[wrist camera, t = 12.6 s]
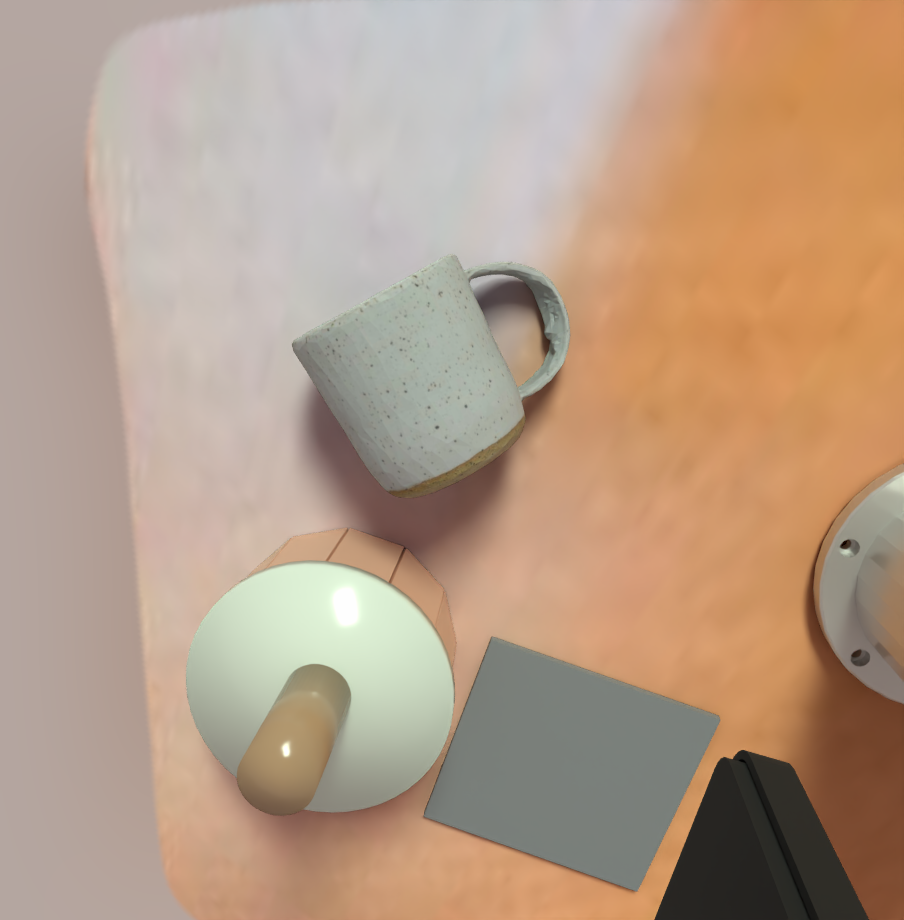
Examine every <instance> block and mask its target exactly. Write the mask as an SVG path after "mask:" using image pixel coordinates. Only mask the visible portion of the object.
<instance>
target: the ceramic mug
mask: <svg viewBox="0 0 904 920" xmlns="http://www.w3.org/2000/svg"><path fill="white" fill-rule="evenodd" d="M497 274H503V275H509V276H514V277H517V278H519V279H521V280H523V281H524V282H525V283H526V285H527V286H528V287H529V288H530V289H531V290H532V292H533V294H534V297H535V299H536V302H537V304H538V307H539V310H540V312H541V314H542V317H543V321H544V325H545V330H544V334H545V336H546V337H547V339H549V340H550V346H549V351H548V353H547V356H546V358H545V360H544V363H543V365H542V366H541V367H540V369H539V370H538V371H536V372H535V374H534V375H533V376H532V377H531V378H530V379H528V380H527V381H526V382H525V383H524V384H523V385H521V386H519V387H518V388H517V385H516V383H515V381H514V378H513V376H512V374H511V372H510V370H509V368H508V366H507V364H506V362H505V360H504V358H503V356H502V355H501V353H500V350H499V348H498V346H497V344H496V342H495V340H494V338H493V336H492V334H491V331H490V329H489V327H488V324H487V322H486V319H485V317H484V314H483V312H482V310H481V308H480V306H479V304H478V302H477V300H476V298H475V296H474V293H473V291H472V289H471V286H470V284H469V283H470V280H471V279H473V278H477V277H481V276H486V275H497ZM569 341H570V326H569V318H568V314H567V310H566V308H565V305H564V303H563V300H562V298H561V295H560V294H559V292H558V290H557V289H556V287H555V286H554V284H553V283H552V281H551V280H550V279H549V278H548V277H546V276H545V275H544V274H543V273H541V272H540V271H538V270H536V269H534V268H532V267H529V266H525V265H522V264H518V263H513V262H495V263H488V264H484V265H480V266H476V267H473V268H471V269H468V270H463V269H462V267H461V264H460V262H459V260H458V258H457V257H456V256H455V255H453V254H449V255H447V256H445V257H443V258H441V259H439V260H438V261H436V262H434V263H431V264H430V265H428V266H427V267H425V268H423V269H421V270H420V271H418V272H416V273H414V274H412V275H410V276H409V277H407V278H405V279H403V280H402V281H400V282H398V283H396V284H394V285H392V286H391V287H389V288H387V289H386V290H384V291H381V292H379V293H377V294H376V295H374V296H373V297H371V298H369V299H367V300H366V301H364V302H362V303H361V304H359V305H356V306H355V307H353V308H352V309H350V310H347V311H346V312H344V313H343V314H341V315H339V316H337V317H335V318H333V319H332V320H330V321H328V322H326V323H324V324H322V325H320V326H318V327H316V328H314V329H312V330H311V331H309V332H307V333H305V334H304V335H303V336H302V337H299V338H297V339H296V340H294V341H293V343H292V347H293V351H294V353H295V354H296V356H297V357H298V359H299V361H300V362H301V364H302V365H303V367H304V368H305V370H306V371H307V373H308V374H309V376H310V378H311V379H312V381H313V383H314V384H315V385H316V387H317V389H318V391H319V392H320V394H321V395H322V397H323V398H324V400H325V402H326V404H327V405H328V407H329V409H330V410H331V412H332V413H333V415H334V416H335V418H336V419H337V421H338V422H339V424H340V425H341V427H342V428H343V430H344V431H345V433H346V435H347V436H348V438H349V440H350V441H351V443H352V445H353V447H354V448H355V450H356V452H357V453H358V455H359V457H360V458H361V460H362V461H363V463H364V464H365V466H366V467H367V469H368V470H369V472H370V473H371V474H372V475H373V476H374V477H375V479H376V480H377V481H378V482H379V483H380V485H381V486H382V487H383V488H384V489H385V490H386V491H387V492H389V493H390V494H392V495H394V496H397V497H403V498H415V497H419V496H424V495H427V494H430V493H433V492H436V491H438V490H440V489H443V488H445V487H448V486H450V485H452V484H454V483H457V482H458V481H460V480H462V479H464V478H466V477H467V476H469V475H471V474H473V473H474V472H476V471H478V470H479V469H481V468H482V467H484V466H486V465H487V464H489V463H491V462H492V461H493V460H494V459H496V458H497V457H498V456H500V455H501V454H502V453H503V452H505V451H506V450H508V449H509V448H510V447H511V446H512V445H513V444H514V443H515V442H516V441H517V439H518V438H519V437H520V435H521V433H522V431H523V427H524V424H525V419H526V418H525V414H524V409H523V405H522V400H523V399H524V398H526V397H529V396H531V395H532V394H534V393H535V392H537V391H539V390H541V389H542V388H543V387H544V386H545V385H546V384H547V383H548V382H550V381H551V380H552V378H553V377H554V376H555V375H556V373H557V372H558V371H559V369H560V368H561V366H562V365H563V363H564V360H565V357H566V354H567V351H568V347H569Z"/></svg>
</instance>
